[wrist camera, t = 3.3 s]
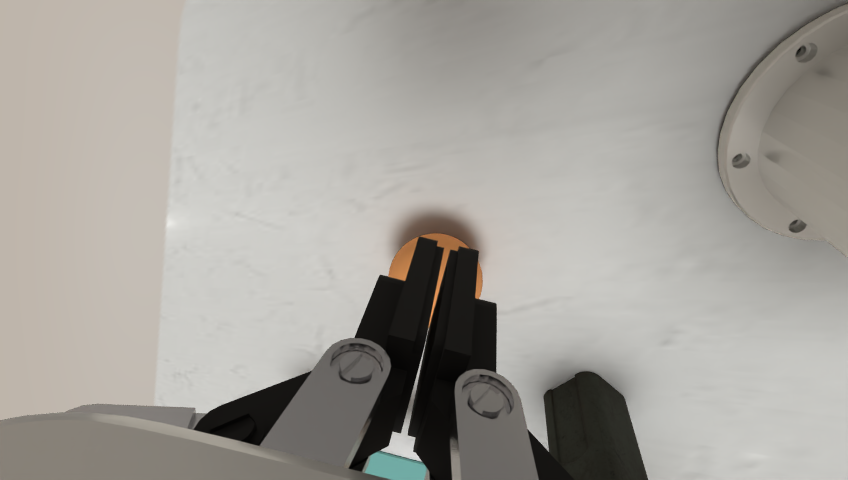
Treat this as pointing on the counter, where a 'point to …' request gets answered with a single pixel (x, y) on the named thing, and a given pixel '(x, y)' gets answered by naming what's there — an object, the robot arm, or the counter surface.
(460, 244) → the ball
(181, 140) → the counter surface
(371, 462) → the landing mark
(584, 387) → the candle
